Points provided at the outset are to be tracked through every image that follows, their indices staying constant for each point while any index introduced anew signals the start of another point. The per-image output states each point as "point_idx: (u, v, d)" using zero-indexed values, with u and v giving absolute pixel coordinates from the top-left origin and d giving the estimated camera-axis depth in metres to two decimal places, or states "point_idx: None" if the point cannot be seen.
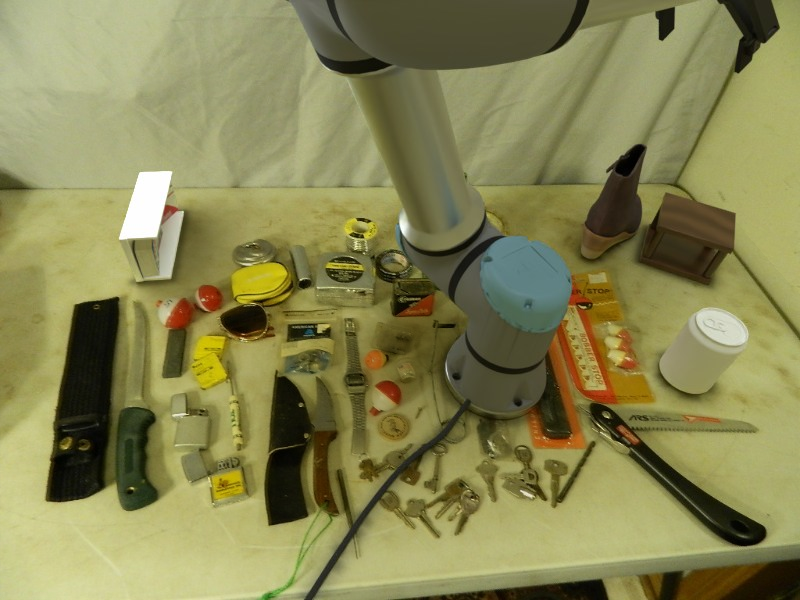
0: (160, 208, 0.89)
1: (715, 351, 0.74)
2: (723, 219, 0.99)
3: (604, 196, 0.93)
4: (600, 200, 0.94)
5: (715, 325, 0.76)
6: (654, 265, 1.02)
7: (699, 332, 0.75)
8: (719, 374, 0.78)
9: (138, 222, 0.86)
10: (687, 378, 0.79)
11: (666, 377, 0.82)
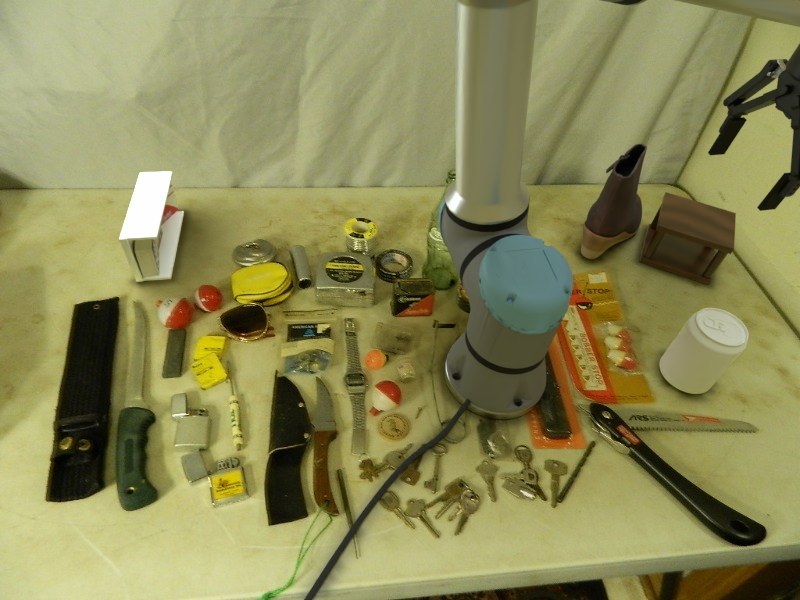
0: (160, 208, 0.89)
1: (715, 351, 0.74)
2: (723, 219, 0.99)
3: (604, 196, 0.93)
4: (600, 200, 0.94)
5: (715, 325, 0.76)
6: (654, 265, 1.02)
7: (699, 332, 0.75)
8: (719, 374, 0.78)
9: (138, 222, 0.86)
10: (687, 378, 0.79)
11: (666, 377, 0.82)
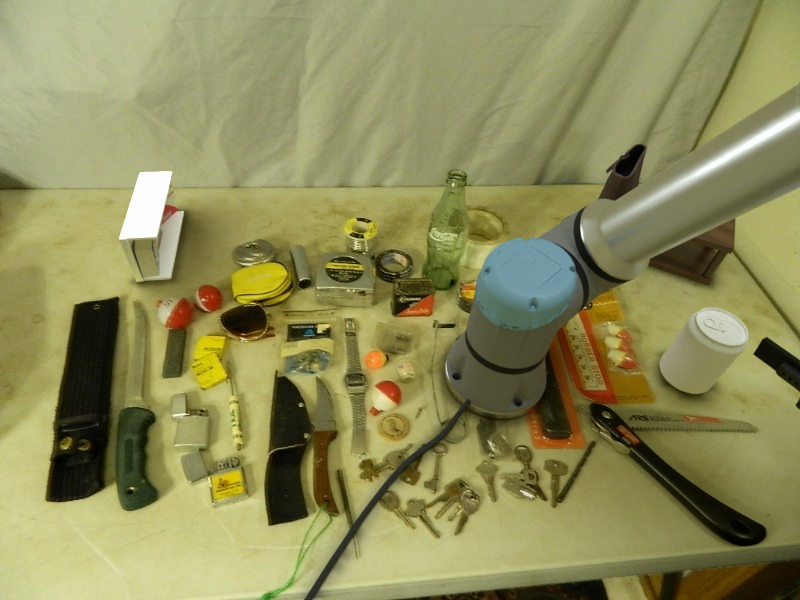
0: (160, 208, 0.89)
1: (715, 351, 0.74)
2: None
3: (604, 196, 0.93)
4: None
5: (715, 325, 0.76)
6: (654, 265, 1.02)
7: (699, 332, 0.75)
8: (719, 374, 0.78)
9: (138, 222, 0.86)
10: (687, 378, 0.79)
11: (666, 377, 0.82)
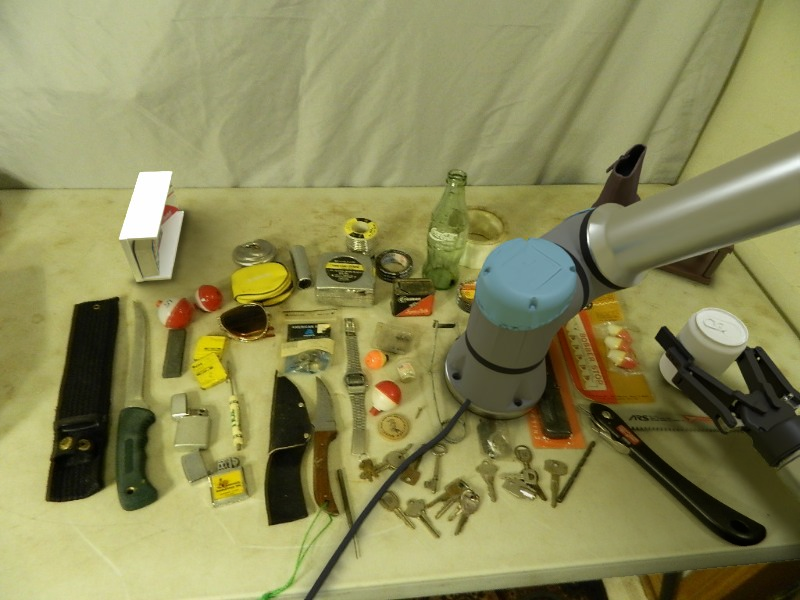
0: (160, 208, 0.89)
1: (715, 351, 0.74)
2: None
3: (604, 196, 0.93)
4: (600, 200, 0.94)
5: (715, 325, 0.76)
6: None
7: (699, 332, 0.75)
8: (719, 374, 0.78)
9: (138, 222, 0.86)
10: None
11: (666, 377, 0.82)
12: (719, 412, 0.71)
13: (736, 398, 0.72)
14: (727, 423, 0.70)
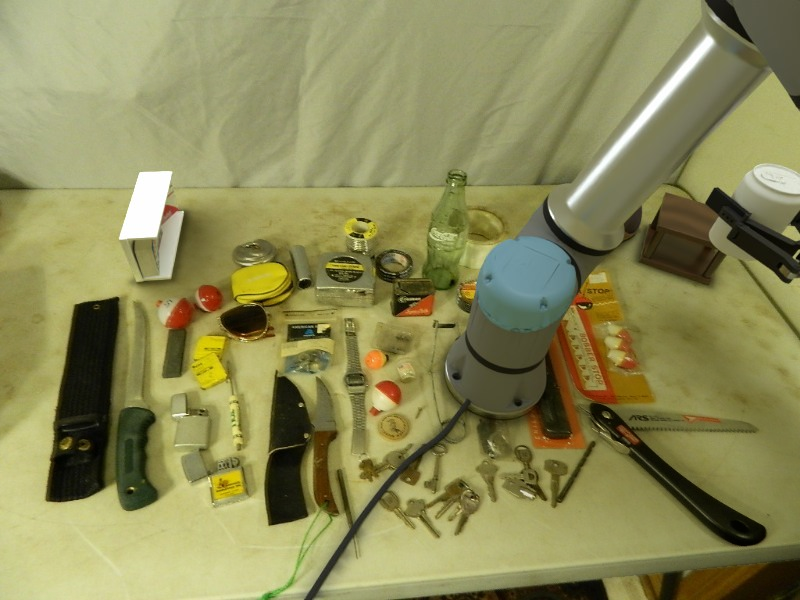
0: (160, 208, 0.89)
1: (775, 201, 0.69)
2: None
3: None
4: None
5: (774, 177, 0.71)
6: (654, 265, 1.02)
7: (757, 183, 0.71)
8: None
9: (138, 222, 0.86)
10: None
11: (717, 245, 0.78)
12: (781, 259, 0.66)
13: (799, 247, 0.67)
14: (791, 268, 0.65)
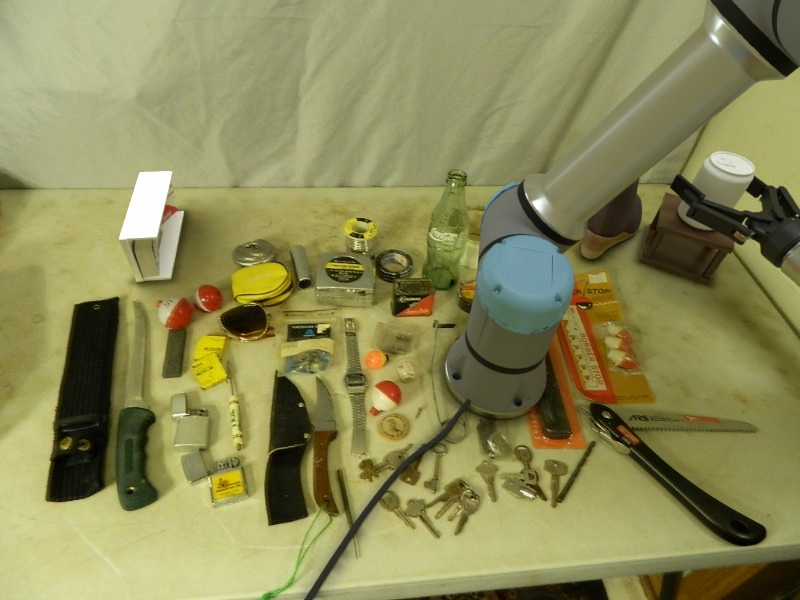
0: (160, 208, 0.89)
1: (727, 180, 0.88)
2: None
3: None
4: None
5: (726, 162, 0.90)
6: (654, 265, 1.02)
7: (713, 167, 0.89)
8: None
9: (138, 222, 0.86)
10: None
11: (684, 218, 0.96)
12: (734, 227, 0.84)
13: (746, 216, 0.85)
14: (744, 233, 0.82)
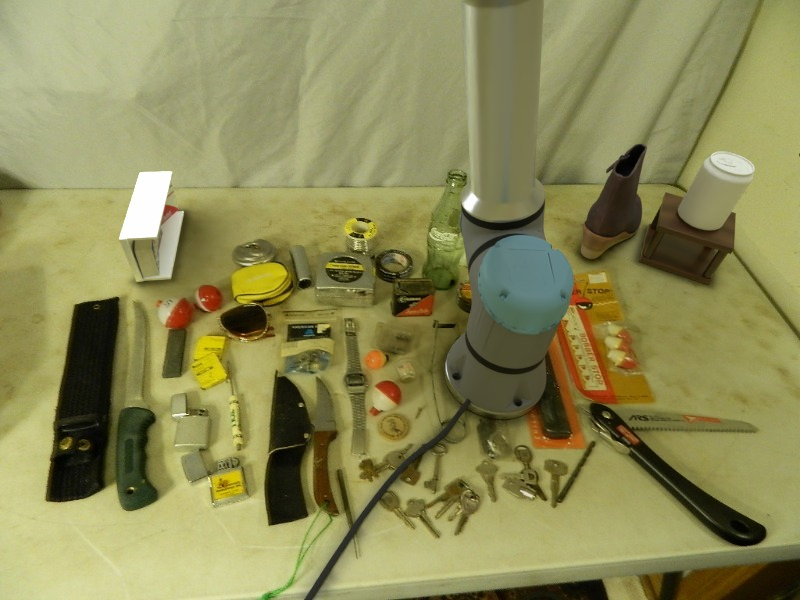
0: (160, 208, 0.89)
1: (727, 180, 0.88)
2: None
3: (604, 196, 0.93)
4: (600, 200, 0.94)
5: (726, 162, 0.90)
6: (654, 265, 1.02)
7: (713, 167, 0.89)
8: (730, 207, 0.92)
9: (138, 222, 0.86)
10: (702, 213, 0.93)
11: (684, 218, 0.96)
12: None
13: None
14: None
